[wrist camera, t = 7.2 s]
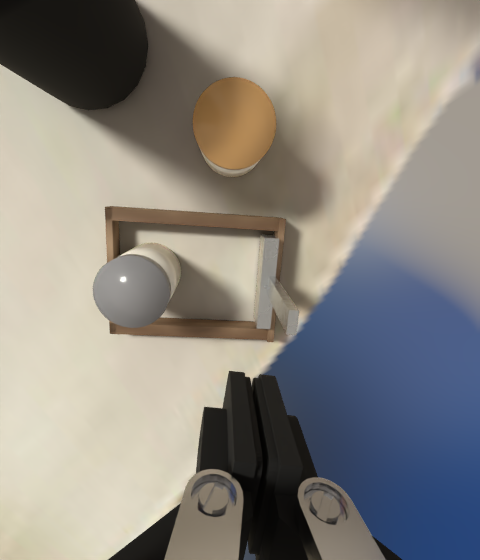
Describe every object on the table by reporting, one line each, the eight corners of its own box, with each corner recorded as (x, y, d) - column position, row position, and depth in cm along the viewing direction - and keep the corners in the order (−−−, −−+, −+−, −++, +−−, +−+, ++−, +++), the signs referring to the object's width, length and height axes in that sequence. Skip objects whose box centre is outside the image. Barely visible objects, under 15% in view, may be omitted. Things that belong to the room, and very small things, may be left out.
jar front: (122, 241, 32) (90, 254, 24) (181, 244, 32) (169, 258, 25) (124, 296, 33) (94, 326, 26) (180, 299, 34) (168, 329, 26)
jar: (203, 106, 29) (196, 70, 21) (266, 115, 30) (282, 84, 22) (198, 172, 31) (189, 162, 23) (258, 180, 31) (269, 173, 23)
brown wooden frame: (112, 206, 31) (103, 206, 28) (281, 217, 32) (285, 219, 30) (116, 326, 34) (108, 335, 32) (269, 332, 35) (273, 341, 33)
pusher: (260, 234, 32) (284, 255, 20) (274, 235, 32) (305, 257, 20) (253, 317, 34) (271, 381, 22) (266, 318, 34) (290, 382, 22)
